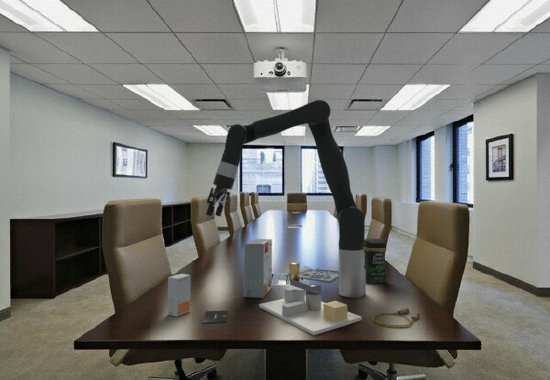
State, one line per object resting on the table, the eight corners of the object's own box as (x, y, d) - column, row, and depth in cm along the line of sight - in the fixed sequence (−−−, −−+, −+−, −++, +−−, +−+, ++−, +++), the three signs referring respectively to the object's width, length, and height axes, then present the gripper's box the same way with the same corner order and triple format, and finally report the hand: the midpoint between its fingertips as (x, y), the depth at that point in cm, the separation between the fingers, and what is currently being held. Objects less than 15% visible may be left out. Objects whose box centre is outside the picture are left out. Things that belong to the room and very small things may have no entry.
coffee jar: (367, 284, 142) (366, 240, 142) (361, 279, 150) (360, 237, 150) (389, 283, 143) (389, 239, 143) (382, 279, 151) (381, 237, 151)
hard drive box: (263, 298, 124) (263, 244, 124) (243, 297, 125) (243, 243, 125) (272, 287, 139) (272, 238, 139) (254, 286, 140) (254, 238, 141)
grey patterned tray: (283, 272, 158) (303, 264, 175) (283, 277, 158) (303, 269, 175) (329, 277, 146) (346, 268, 163) (330, 283, 146) (346, 274, 163)
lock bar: (324, 292, 109) (324, 268, 109) (312, 294, 106) (312, 270, 106) (296, 282, 121) (296, 261, 121) (285, 284, 118) (285, 263, 118)
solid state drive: (227, 312, 111) (227, 310, 111) (226, 324, 101) (226, 321, 101) (205, 313, 110) (205, 311, 110) (202, 325, 100) (202, 322, 100)
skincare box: (176, 317, 106) (176, 278, 106) (167, 314, 108) (167, 277, 108) (191, 311, 111) (191, 274, 111) (182, 309, 113) (181, 273, 113)
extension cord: (433, 327, 98) (433, 320, 98) (383, 331, 95) (382, 324, 95) (410, 312, 110) (409, 306, 110) (364, 316, 107) (364, 309, 107)
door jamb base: (303, 297, 125) (302, 280, 125) (361, 320, 102) (361, 300, 102) (259, 307, 115) (259, 289, 115) (313, 335, 91) (313, 313, 92)
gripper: (228, 175, 123) (214, 218, 122) (240, 180, 137) (228, 218, 136) (209, 170, 125) (196, 212, 124) (224, 175, 138) (212, 213, 138)
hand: (213, 215), depth 130 cm, fingers open, 8 cm apart
